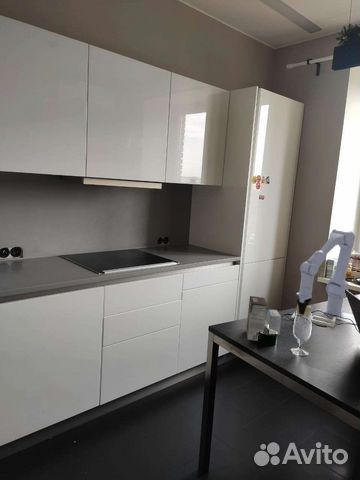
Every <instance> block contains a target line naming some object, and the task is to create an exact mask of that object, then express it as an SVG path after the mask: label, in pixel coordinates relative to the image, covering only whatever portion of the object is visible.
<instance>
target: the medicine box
mask: <svg viewBox="0 0 360 480" xmlns="http://www.w3.org/2000/svg"><path fill="white" fill-rule="evenodd" d="M278 311H279V310H278V309H267V310H266V318H265V323H266V322H267V323H268V324H269V328H270V329H273V330H275V331H277V332H278V335H277V336H279V335H280V332H281V331H280V330H281V323H282V316H281V314H280V313H279V312H278Z"/></svg>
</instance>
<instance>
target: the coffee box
mask: <svg viewBox="0 0 360 480" xmlns="http://www.w3.org/2000/svg"><path fill="white" fill-rule="evenodd" d="M267 308H268V304H267V301H266V299H265V297H259V296H255V295H254V296H253V295H252V296H251V295H249V299H248V311H247V319H246V321H247V322H246V330H245V332H246V337H247V340H250V341H257V342H259V341H258V336H259V332H264V331H265V327H266V319H267V311H268V309H267Z"/></svg>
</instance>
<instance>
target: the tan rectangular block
mask: <svg viewBox="0 0 360 480" xmlns="http://www.w3.org/2000/svg"><path fill="white" fill-rule="evenodd" d="M311 308H312V306H311V305H310V304H308V305H307V307H306V309H305V313H304V315H303V316H306V317H309V316H311ZM295 312H296V313H298V314H299V307H298V304H297V306H296V311H295ZM300 315H302V314H300Z"/></svg>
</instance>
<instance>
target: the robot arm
mask: <svg viewBox="0 0 360 480" xmlns="http://www.w3.org/2000/svg"><path fill="white" fill-rule="evenodd" d="M355 239H356V235H355V233H354V232H353V231H350V230H344V229H341V228H340V229H339V228H333V230H332V231H331V232H330V233H329V238H328V239H327V241H326V242H325V243H324V245H322V247H321V249H320V250H316V251H314V253H313V254H312V255H311V256H310V258H308V259H307V260H306V261H303V262H302V263H301V265H300V266H299V271H300V276H301V278H300V284H299V291H298V292H296V296H298V298H297V300H296V303H297V305H298V307H299V314H302V315H304V313H305V309H306V307H307V305H310V302H311V300H313V298H312V292H313V287H314V280H315V279H314V278H315V275H317V274H318V271H319V269H320V266H321V265H322V263H324V261H326V259H327V255H328V254H329V252H331V251H332V250H333V249H334V248H335V247H336V246H339V253H338V256H337V257H338V258H337V261H336V267H335V270H334V274H333V277H331V278H329V279H328V282H327V284H326V286H325V291H326V293H327V295H328V298H327V304H326V308H325V310H324V313H325V314H328V315H333V316H335V317H337V316H338V317H342V315H343V312H344V311H343V304H344V299H346V297H347V296H346V293H345V290H348V291H349V283H348V281H347V280H346V277H347V272H348V268H349V264H350V261H351V256H352V252H353V248H354V244H355Z"/></svg>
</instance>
